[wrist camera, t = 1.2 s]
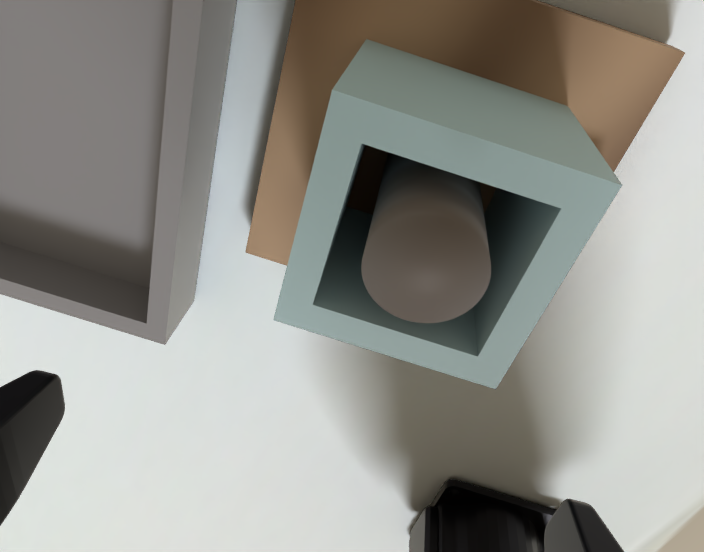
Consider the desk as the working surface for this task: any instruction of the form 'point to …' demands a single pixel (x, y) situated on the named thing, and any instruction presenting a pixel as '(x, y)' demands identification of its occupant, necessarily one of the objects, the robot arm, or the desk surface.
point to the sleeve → (462, 159)
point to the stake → (426, 181)
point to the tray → (109, 154)
